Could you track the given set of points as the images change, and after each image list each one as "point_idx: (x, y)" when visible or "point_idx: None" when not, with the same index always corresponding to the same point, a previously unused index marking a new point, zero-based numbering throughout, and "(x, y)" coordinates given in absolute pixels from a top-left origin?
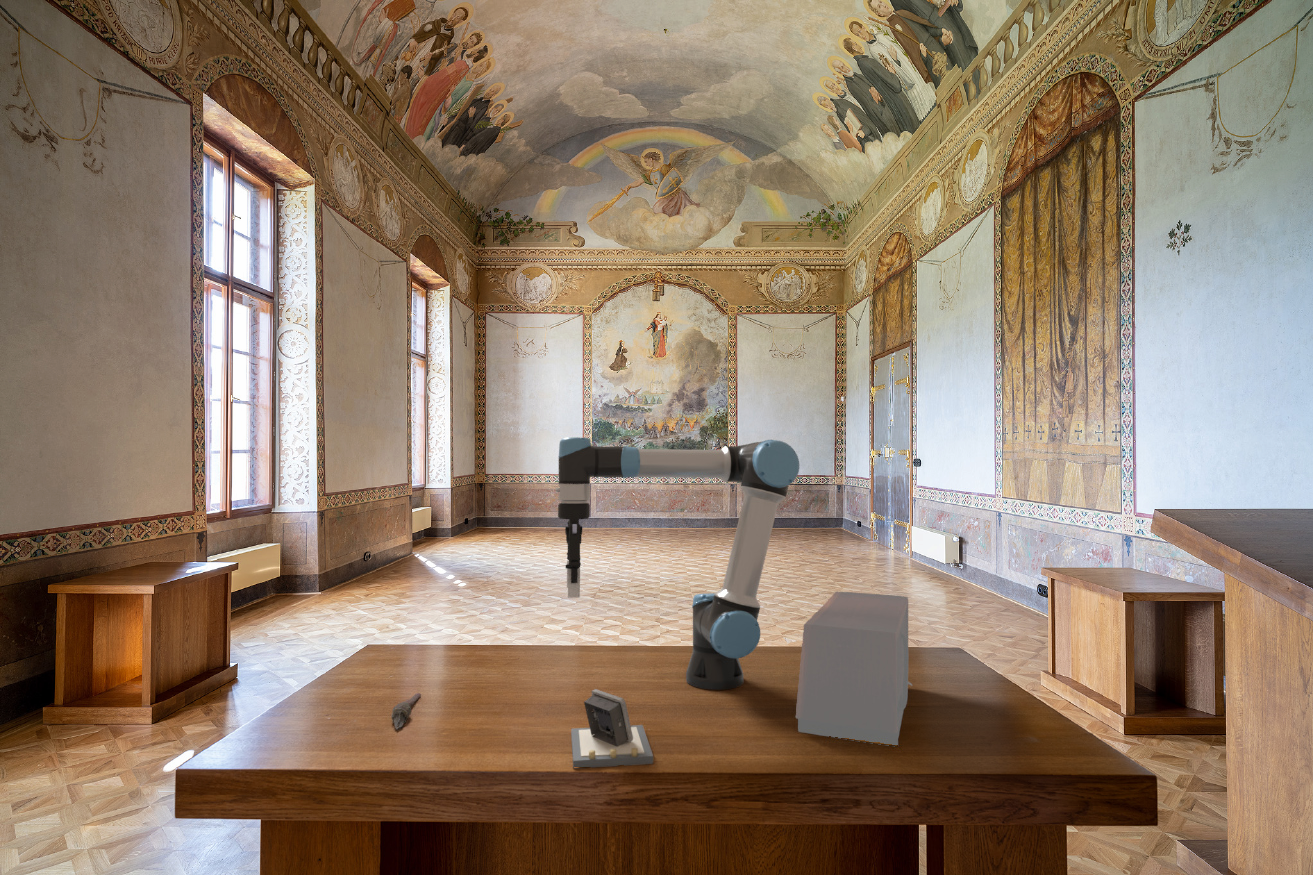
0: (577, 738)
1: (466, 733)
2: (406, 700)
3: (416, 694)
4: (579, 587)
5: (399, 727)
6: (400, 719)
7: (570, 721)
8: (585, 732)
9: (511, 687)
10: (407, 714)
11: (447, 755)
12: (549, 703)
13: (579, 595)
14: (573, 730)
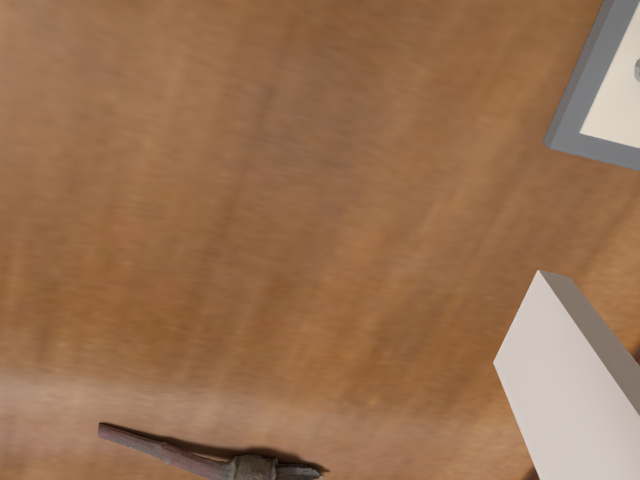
0: (630, 151)
1: (396, 365)
2: (170, 464)
3: (110, 438)
4: (612, 339)
5: (317, 472)
6: (292, 477)
7: (433, 115)
8: (611, 120)
9: (59, 214)
10: (274, 468)
11: (503, 408)
12: (247, 137)
13: (575, 289)
14: (566, 146)
